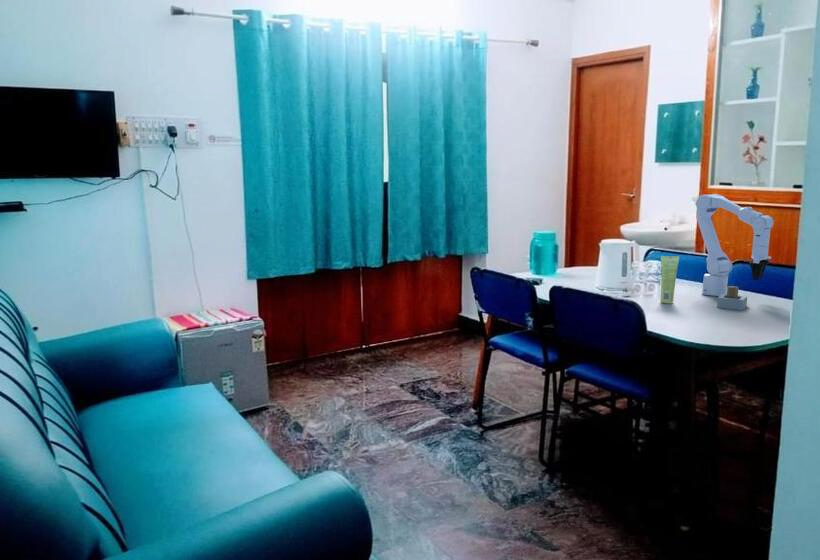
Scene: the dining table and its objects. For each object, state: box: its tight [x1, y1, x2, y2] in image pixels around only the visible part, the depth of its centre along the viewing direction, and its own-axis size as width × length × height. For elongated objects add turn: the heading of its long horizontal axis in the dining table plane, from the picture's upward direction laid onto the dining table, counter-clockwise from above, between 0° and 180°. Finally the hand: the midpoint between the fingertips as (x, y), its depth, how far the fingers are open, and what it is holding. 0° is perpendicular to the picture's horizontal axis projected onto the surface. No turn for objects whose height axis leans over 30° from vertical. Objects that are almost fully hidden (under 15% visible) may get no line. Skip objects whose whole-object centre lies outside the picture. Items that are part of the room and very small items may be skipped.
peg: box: [726, 285, 739, 299], centre depth 253 cm, size 4×4×8 cm
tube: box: [659, 255, 680, 305], centre depth 261 cm, size 6×5×20 cm
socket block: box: [716, 294, 748, 311], centre depth 254 cm, size 9×9×4 cm
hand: (757, 278), depth 260 cm, fingers open, 7 cm apart
